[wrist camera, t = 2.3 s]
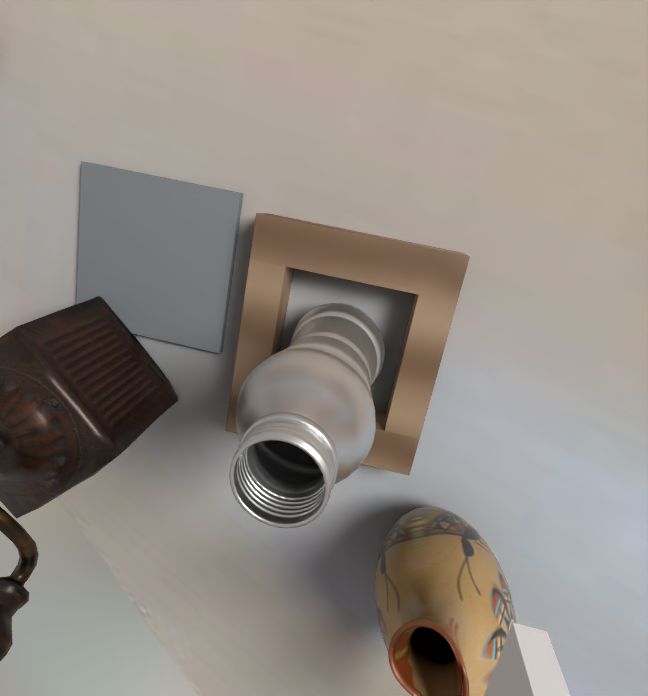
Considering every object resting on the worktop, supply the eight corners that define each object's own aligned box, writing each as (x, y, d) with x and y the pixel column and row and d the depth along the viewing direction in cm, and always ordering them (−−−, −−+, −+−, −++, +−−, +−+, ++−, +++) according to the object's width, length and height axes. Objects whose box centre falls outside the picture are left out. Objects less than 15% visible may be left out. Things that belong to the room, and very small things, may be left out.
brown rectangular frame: (408, 455, 37) (409, 475, 34) (238, 414, 39) (225, 430, 36) (463, 253, 33) (469, 256, 30) (268, 213, 34) (256, 213, 31)
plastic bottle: (338, 398, 37) (277, 593, 18) (280, 332, 36) (152, 464, 17) (403, 348, 35) (414, 505, 16) (344, 278, 34) (281, 356, 15)
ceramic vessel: (351, 468, 38) (279, 882, 15) (462, 440, 36) (589, 866, 13) (412, 629, 42) (436, 1180, 18) (517, 611, 40) (700, 1205, 16)
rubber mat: (222, 351, 37) (219, 353, 37) (80, 318, 38) (75, 320, 38) (243, 193, 34) (240, 193, 33) (86, 162, 35) (81, 161, 34)
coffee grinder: (12, 361, 40) (-273, 487, 23) (101, 291, 37) (-156, 379, 20) (129, 500, 43) (-49, 703, 26) (221, 446, 39) (87, 640, 22)
